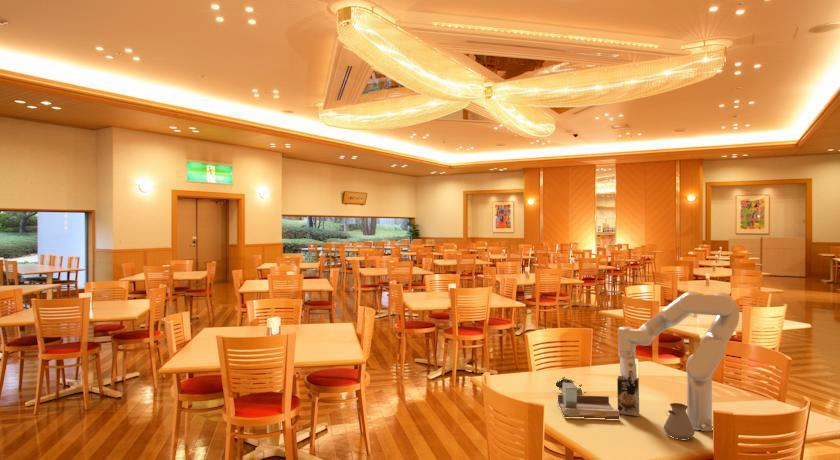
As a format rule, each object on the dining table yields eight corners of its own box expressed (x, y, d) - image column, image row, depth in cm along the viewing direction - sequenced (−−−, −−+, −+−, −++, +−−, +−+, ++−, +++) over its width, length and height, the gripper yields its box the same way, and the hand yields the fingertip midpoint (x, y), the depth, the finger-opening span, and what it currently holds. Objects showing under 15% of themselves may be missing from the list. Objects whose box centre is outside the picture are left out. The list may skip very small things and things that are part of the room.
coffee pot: (667, 428, 214) (667, 393, 214) (697, 435, 206) (697, 399, 206) (653, 445, 198) (652, 407, 198) (684, 453, 190) (684, 414, 190)
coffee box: (617, 413, 230) (616, 378, 230) (619, 409, 235) (618, 375, 236) (638, 416, 226) (637, 381, 226) (639, 411, 231) (638, 377, 231)
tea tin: (577, 410, 230) (576, 388, 230) (565, 410, 230) (565, 387, 230) (573, 404, 238) (573, 382, 238) (562, 404, 239) (562, 382, 239)
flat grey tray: (619, 420, 222) (619, 409, 222) (564, 419, 225) (564, 408, 225) (608, 406, 241) (608, 396, 241) (557, 404, 243) (557, 394, 243)
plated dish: (588, 406, 243) (588, 391, 243) (533, 396, 259) (533, 382, 259) (606, 388, 272) (606, 374, 272) (556, 380, 288) (556, 367, 288)
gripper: (641, 358, 222) (642, 397, 222) (629, 349, 239) (630, 385, 239) (624, 358, 223) (625, 397, 222) (613, 349, 240) (614, 385, 240)
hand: (628, 391), depth 231 cm, fingers closed on coffee box, 8 cm apart
